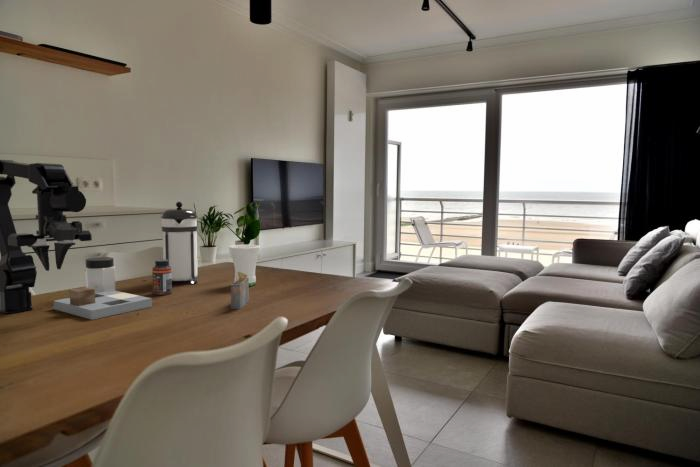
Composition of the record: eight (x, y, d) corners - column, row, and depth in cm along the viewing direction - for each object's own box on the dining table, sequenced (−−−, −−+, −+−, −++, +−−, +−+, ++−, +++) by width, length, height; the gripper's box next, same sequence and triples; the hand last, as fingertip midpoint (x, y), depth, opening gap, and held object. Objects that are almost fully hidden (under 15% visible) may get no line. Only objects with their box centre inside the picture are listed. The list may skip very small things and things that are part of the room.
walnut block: (78, 306, 136) (78, 291, 135) (70, 303, 138) (69, 289, 138) (95, 302, 139) (94, 288, 139) (86, 300, 142) (85, 287, 141)
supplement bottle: (148, 294, 163) (147, 260, 162) (163, 291, 168) (162, 258, 167) (161, 296, 160) (160, 261, 159) (175, 293, 165) (175, 259, 164)
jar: (81, 298, 156) (79, 260, 155) (91, 292, 164) (89, 257, 163) (111, 297, 157) (109, 260, 156) (119, 292, 165) (118, 256, 164)
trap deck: (92, 319, 131) (91, 310, 131) (53, 309, 142) (53, 300, 142) (152, 306, 146) (151, 298, 146) (113, 297, 157) (113, 290, 157)
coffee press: (212, 280, 187) (211, 201, 185) (177, 287, 174) (175, 202, 171) (181, 276, 196) (180, 200, 194) (146, 282, 183) (144, 201, 180)
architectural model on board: (239, 301, 156) (238, 271, 155) (248, 301, 155) (248, 271, 155) (229, 310, 144) (229, 277, 143) (239, 310, 144) (239, 277, 143)
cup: (226, 283, 183) (226, 245, 182) (256, 281, 188) (256, 244, 187) (233, 288, 173) (232, 248, 172) (264, 286, 178) (263, 247, 176)
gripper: (26, 213, 118) (29, 278, 119) (101, 211, 133) (104, 268, 135) (5, 212, 124) (8, 273, 125) (79, 209, 140) (81, 264, 141)
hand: (53, 269), depth 131 cm, fingers open, 3 cm apart
